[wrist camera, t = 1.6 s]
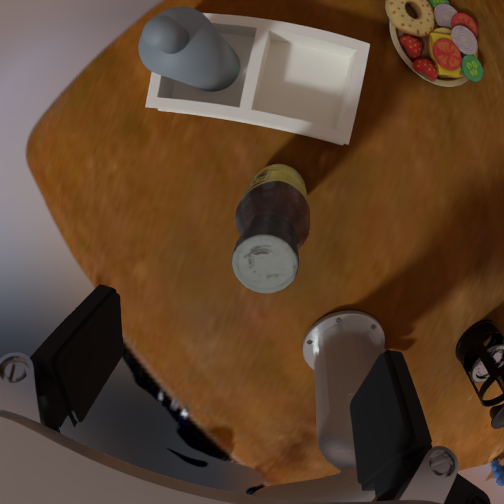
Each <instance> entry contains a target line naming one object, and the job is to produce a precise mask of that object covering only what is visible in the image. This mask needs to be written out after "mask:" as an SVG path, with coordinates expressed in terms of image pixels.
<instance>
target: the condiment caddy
mask: <svg viewBox="0 0 504 504" xmlns="http://www.w3.org/2000/svg"><path fill="white" fill-rule="evenodd" d="M369 47H370V44H369V43H366V42H363V41H359V40H356V39H353V38H350V37H346V36H343V35H339V34H335V33H332V32H328V31H324V30H320V29H316V28H311V27H307V26H302V25H297V24H292V23H287V22H281V21H275V20H269V19H262V18H254V17H246V16H237V15H225V14H211V13H201V12H200V11H198V10H196V9H193V8H189V7H176V8H172V9H168V10H166V11H164V12H162V13H160V14H158V15H157V16H155V17H154V18H152V19H151V20H149V21H148V22H147V24H146V25H145V27H144V29H143V32H142V34H141V37H140V40H139V55H140V58H141V60H142V62H143V64H144V65H145V66H146V67H147V68H148V69H149V70H150V71H152V74H151V79H150V85H149V90H148V95H147V101H146V107H149V108H158V111H167V112H176V113H185V114H193V115H200V116H207V117H214V118H220V119H226V120H232V121H238V122H244V123H249V124H254V125H259V126H264V127H269V128H274V129H279V130H283V131H288V132H292V133H296V134H300V135H305V136H309V137H313V138H317V139H320V140H324V141H328V142H332V143H335V144H339V145H342V146H343V144H347V145H349V141H350V137H351V133H352V129H353V124H354V120H355V116H356V111H357V107H358V102H359V98H360V93H361V88H362V83H363V78H364V73H365V68H366V63H367V58H368V53H369Z"/></svg>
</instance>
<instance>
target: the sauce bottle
mask: <svg viewBox="0 0 504 504" xmlns="http://www.w3.org/2000/svg"><path fill="white" fill-rule="evenodd" d="M235 220H236V226H237V229H238V231H239V232H240V234H241V237H240V238H239V240H238V241H237V243H236V246H235V249H234V252H233V256H232V266H233V270H234V273H235V275H236V277H237V278H238V279H239V281H240V282H241V283H242V284H243V285H244V286H246V287H247V288H249V289H251V290H253V291H256V292H260V293H273V292H276V291H280V290H282V289H284V288H286V287H287V286H288V285H289V284H290V283H291V282H292V281H293V280H294V278H295V277H296V274H297V271H298V267H299V257H298V249H299V248H300V247H301V246H302V245H303V244H304V242H305V241H306V239H307V236H308V234H309V229H310V210H309V204H308V198H307V192H306V187H305V182H304V180H303V178H302V177H301V175H300V174H299V173H298V172H297V171H296V170H295V169H293V168H292V167H290V166H288V165H286V164H281V163H279V164H273V165H269V166H266V167H264V168H263V169H261V170H260V171H259V172H258V173H257V174H256V176H255V177H254V179H253V180H252V182H251V184H250V185H249V187H248V189H247V190H246V192H245V194H244V196H243V198H242V199H241V201H240V203H239V205H238V207H237V210H236V216H235Z"/></svg>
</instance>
